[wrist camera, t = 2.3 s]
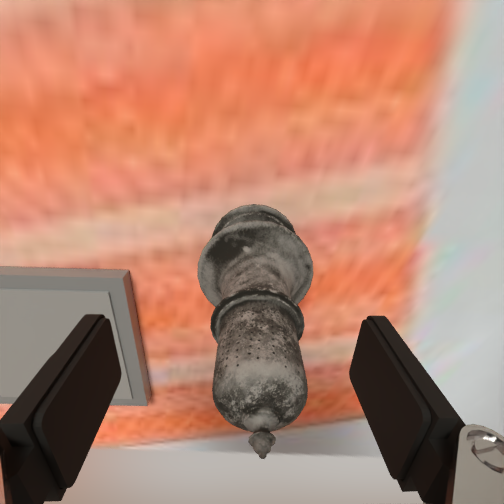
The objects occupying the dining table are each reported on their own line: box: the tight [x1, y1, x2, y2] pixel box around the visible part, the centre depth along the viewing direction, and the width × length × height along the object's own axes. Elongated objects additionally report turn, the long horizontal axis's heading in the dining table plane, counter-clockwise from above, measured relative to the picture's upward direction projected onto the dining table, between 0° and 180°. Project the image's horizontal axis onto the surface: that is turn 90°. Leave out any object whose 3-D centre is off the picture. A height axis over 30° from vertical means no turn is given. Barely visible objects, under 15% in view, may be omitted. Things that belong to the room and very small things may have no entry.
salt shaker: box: [198, 204, 313, 459], centre depth 12 cm, size 6×6×12 cm
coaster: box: [0, 266, 151, 406], centre depth 20 cm, size 12×12×1 cm
